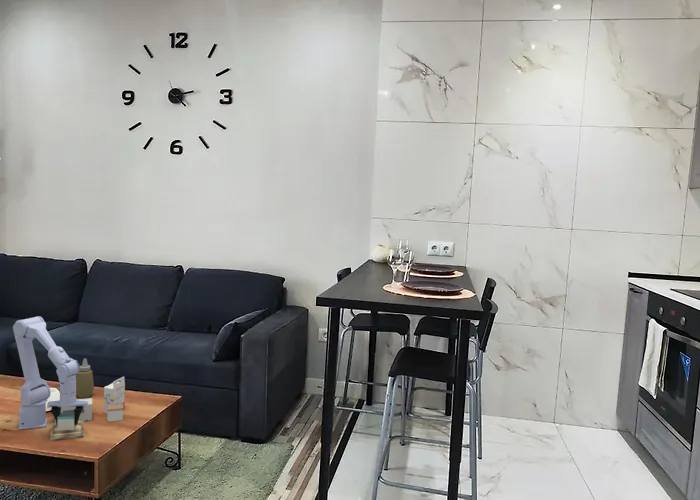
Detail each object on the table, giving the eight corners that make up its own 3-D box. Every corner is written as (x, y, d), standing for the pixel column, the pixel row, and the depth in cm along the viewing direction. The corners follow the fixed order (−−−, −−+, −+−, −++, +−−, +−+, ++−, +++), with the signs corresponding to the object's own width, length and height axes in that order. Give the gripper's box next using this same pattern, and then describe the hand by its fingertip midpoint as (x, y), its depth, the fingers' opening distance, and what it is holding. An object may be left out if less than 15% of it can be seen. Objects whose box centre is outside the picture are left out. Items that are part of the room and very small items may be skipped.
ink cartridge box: (114, 406, 253) (115, 374, 252) (124, 407, 252) (125, 375, 251) (103, 413, 245) (103, 380, 244) (113, 414, 244) (113, 382, 243)
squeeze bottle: (97, 395, 264) (98, 358, 262) (81, 400, 257) (82, 362, 255) (87, 391, 268) (87, 355, 266) (71, 396, 261) (71, 358, 259)
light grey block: (107, 421, 237) (107, 409, 236) (107, 418, 240) (107, 405, 240) (123, 420, 239) (123, 407, 239) (122, 416, 243) (122, 404, 242)
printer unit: (54, 424, 231) (54, 407, 230) (55, 417, 238) (55, 401, 237) (91, 420, 237) (92, 404, 236) (91, 413, 244) (92, 397, 243)
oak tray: (50, 440, 216) (50, 435, 216) (51, 428, 227) (51, 424, 227) (83, 437, 221) (83, 432, 221) (83, 425, 232) (83, 420, 231)
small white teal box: (57, 430, 221) (57, 416, 221) (60, 425, 225) (60, 412, 225) (73, 430, 222) (74, 416, 222) (77, 425, 226) (77, 412, 226)
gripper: (90, 387, 227) (89, 420, 229) (51, 387, 225) (51, 420, 226) (85, 394, 221) (84, 427, 222) (45, 394, 218) (45, 427, 219)
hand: (67, 424), depth 224 cm, fingers closed on small white teal box, 6 cm apart
